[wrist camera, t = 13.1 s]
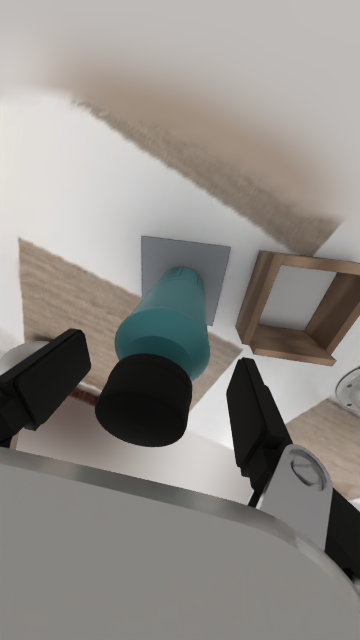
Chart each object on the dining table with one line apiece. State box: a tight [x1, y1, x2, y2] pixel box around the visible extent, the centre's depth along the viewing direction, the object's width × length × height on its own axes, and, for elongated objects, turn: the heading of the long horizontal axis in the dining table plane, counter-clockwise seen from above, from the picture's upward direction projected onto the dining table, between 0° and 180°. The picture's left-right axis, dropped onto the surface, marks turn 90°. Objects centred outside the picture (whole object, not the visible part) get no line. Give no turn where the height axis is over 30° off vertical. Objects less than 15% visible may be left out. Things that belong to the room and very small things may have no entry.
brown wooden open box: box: [235, 251, 360, 366], centre depth 21 cm, size 12×12×7 cm
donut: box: [0, 341, 49, 375], centre depth 30 cm, size 10×4×10 cm, turn 69°
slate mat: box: [141, 236, 231, 326], centre depth 24 cm, size 12×12×1 cm
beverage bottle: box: [95, 266, 210, 447], centre depth 15 cm, size 6×7×20 cm
